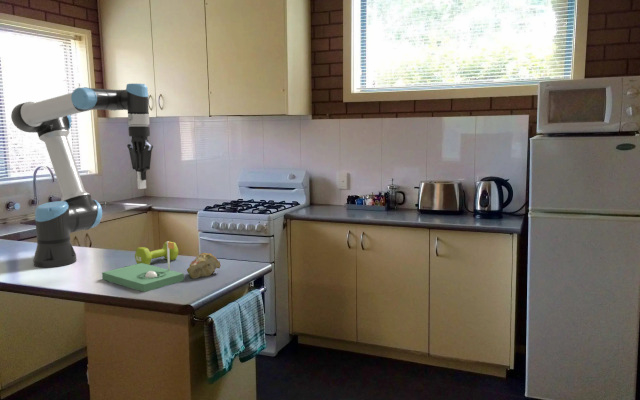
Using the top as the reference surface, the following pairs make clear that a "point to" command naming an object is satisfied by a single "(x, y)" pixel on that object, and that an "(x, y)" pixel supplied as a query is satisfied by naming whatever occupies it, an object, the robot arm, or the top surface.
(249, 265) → the top surface
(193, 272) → the rock
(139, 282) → the mat
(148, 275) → the ball
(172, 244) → the flag
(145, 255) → the dumbbell
